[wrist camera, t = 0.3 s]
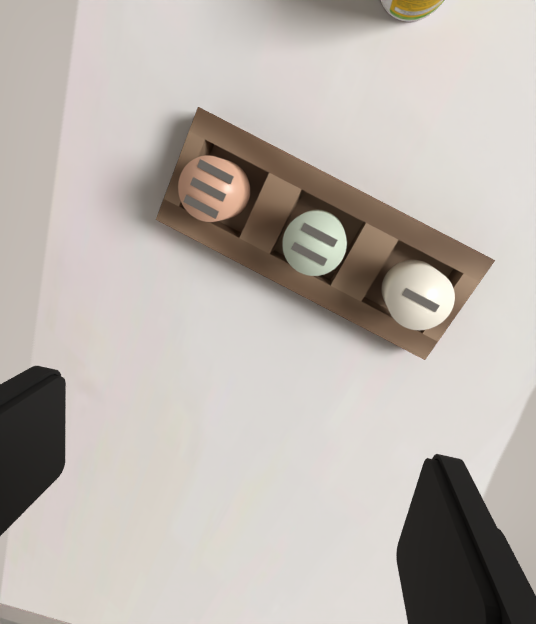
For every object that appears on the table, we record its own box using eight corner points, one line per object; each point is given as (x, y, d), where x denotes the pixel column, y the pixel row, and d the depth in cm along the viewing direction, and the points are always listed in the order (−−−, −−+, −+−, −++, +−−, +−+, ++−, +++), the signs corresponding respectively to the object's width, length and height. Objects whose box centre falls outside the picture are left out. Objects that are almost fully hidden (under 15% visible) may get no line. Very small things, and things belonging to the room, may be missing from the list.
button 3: (208, 149, 33) (191, 143, 29) (259, 176, 33) (249, 173, 29) (187, 203, 34) (168, 204, 31) (236, 228, 34) (223, 233, 30)
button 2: (304, 199, 33) (300, 200, 29) (356, 226, 33) (358, 230, 29) (278, 251, 34) (271, 258, 30) (327, 276, 34) (326, 287, 30)
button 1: (401, 249, 33) (410, 257, 29) (452, 276, 33) (468, 287, 29) (370, 298, 34) (375, 312, 30) (420, 324, 34) (431, 341, 30)
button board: (209, 113, 35) (198, 106, 32) (481, 255, 35) (495, 260, 32) (169, 217, 38) (155, 219, 35) (418, 347, 38) (424, 359, 35)
